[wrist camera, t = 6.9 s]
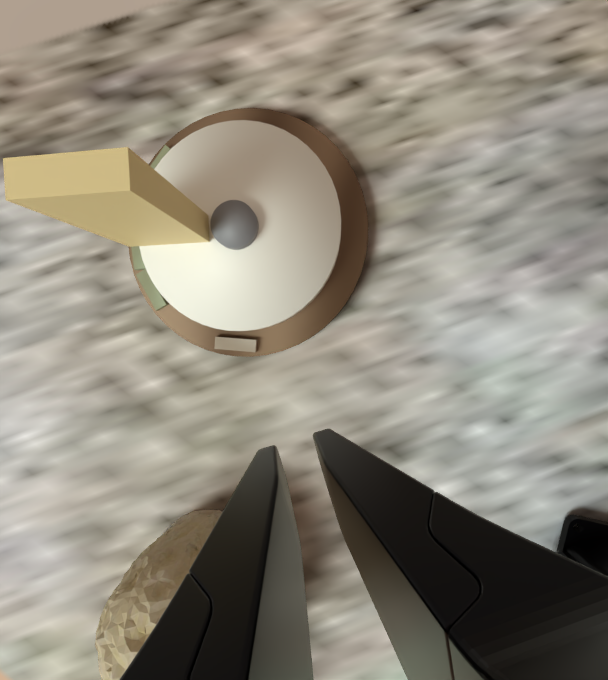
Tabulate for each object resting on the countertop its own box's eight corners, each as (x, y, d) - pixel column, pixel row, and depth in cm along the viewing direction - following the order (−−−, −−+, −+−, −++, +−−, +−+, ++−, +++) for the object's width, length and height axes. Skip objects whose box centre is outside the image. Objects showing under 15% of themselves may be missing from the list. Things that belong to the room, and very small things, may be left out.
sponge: (255, 479, 26) (129, 478, 18) (344, 608, 20) (214, 690, 12) (183, 573, 26) (31, 612, 19) (247, 724, 21) (66, 874, 13)
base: (377, 119, 20) (379, 107, 19) (356, 365, 21) (357, 367, 19) (141, 114, 21) (131, 102, 20) (129, 345, 22) (119, 346, 21)
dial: (344, 327, 19) (348, 328, 11) (146, 334, 21) (14, 340, 12) (337, 123, 19) (337, -34, 11) (136, 142, 20) (-7, 12, 12)
